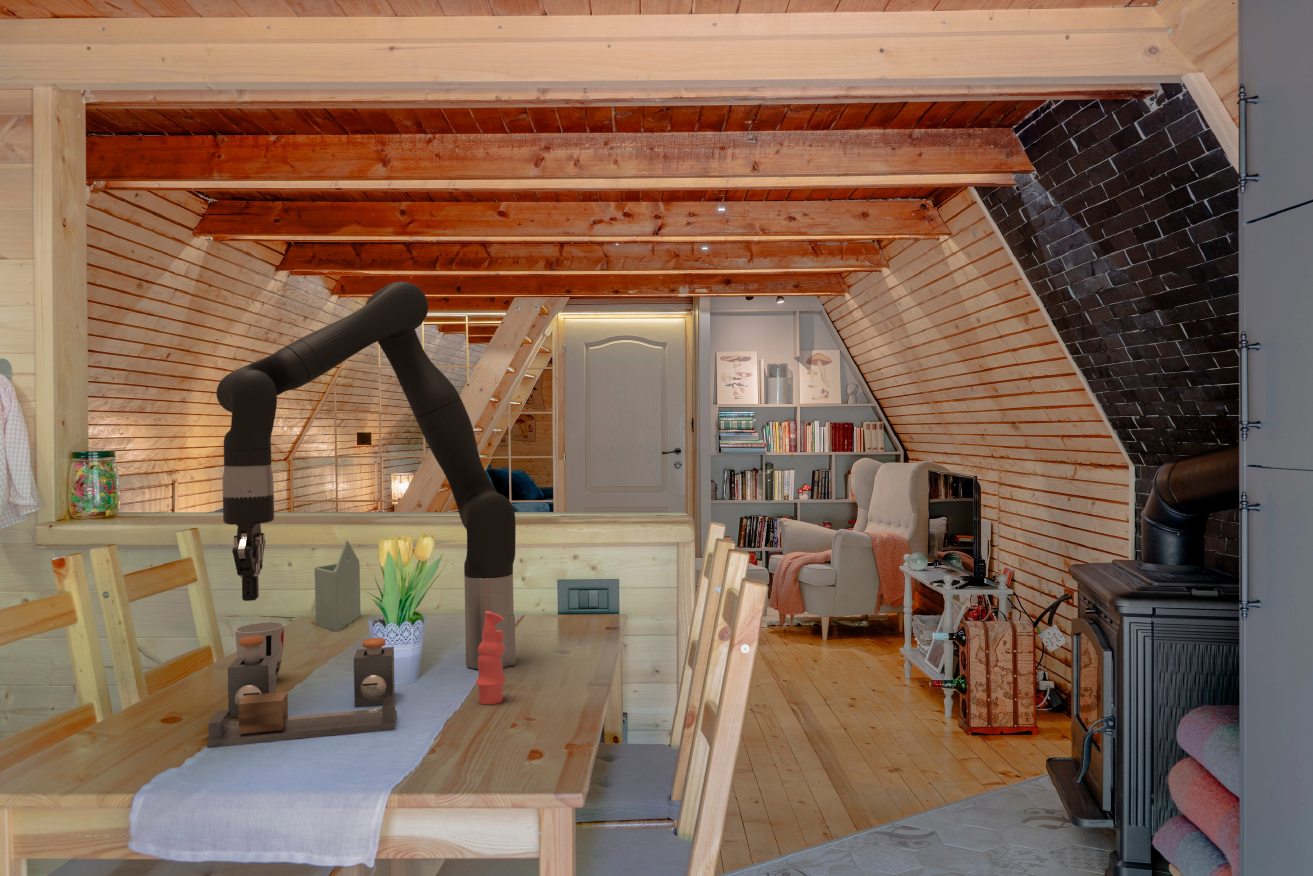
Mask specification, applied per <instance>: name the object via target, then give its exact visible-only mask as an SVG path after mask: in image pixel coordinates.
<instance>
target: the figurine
mask: <svg viewBox="0 0 1313 876" xmlns="http://www.w3.org/2000/svg"><path fill="white" fill-rule="evenodd" d="M485 615H486V616H485V620H484V628H483V631H482V639H483V640H482V642H481V644H480V645H479V647H478V653H479V654H480V656H479V658H478V669H477V670H478V677H477V679H476V681H475V684H476V685H477V686H478V702H479V703H480V704H483V705H497V704H499V703H502V701H504V697H503V695H504V694H503V693H504V692H503V691H504V689H503V686H504V685H503V684H504V683H505V682H506V677H505V675H504V667H503V666H502V661H501V659H500V656H502V654H503V653H504V651H505V646H504V644H503V643H502V642H501V641H503V639H504V638H503V632H502V630H496V628H495V625H496V624H497V623H499V622H500V621H501V620H504V619H503V618H502V617H501V616H500V615H498V614H495V613H492V612H491V611H486V612H485Z"/></svg>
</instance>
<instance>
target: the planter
mask: <svg viewBox="0 0 1313 876" xmlns="http://www.w3.org/2000/svg"><path fill="white" fill-rule="evenodd" d="M360 575H361V574H360V560H359V558H358V556H357V554H356V553H355V551H354V549H353V548H352V545H351V544H350V541H349V540H347V539H346V540H345V542H344V544H343V547H342V550H341V553H340V556H339V559H338V560H337V563H335V564H327V565H321V566H315V567H314V595H315V596H314V599H315V600H314V601H315V602H314V605H315V607H314V608H315V625H316V626H318V627H320V628H322V627H323V628H322V629H326V630H329V631H331V632H334V633H338V632H339V631H341V630H342V628H343V629H344V628H346V627H347V626H348V625H347V624H349V623H350V622H351V621H353V620H354V621H356V620H357V619H359V618H360V617H361V576H360ZM354 621H353V622H354ZM351 623H352V622H351ZM351 623H350V624H351ZM350 624H349V625H350ZM346 625H347V626H346ZM345 626H346V627H345Z"/></svg>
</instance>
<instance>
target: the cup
mask: <svg viewBox="0 0 1313 876" xmlns="http://www.w3.org/2000/svg"><path fill="white" fill-rule="evenodd" d="M234 635H235V646H236V654H237V658H244V646H241V645H239V639H240V638H243V637H247V636H263V637H264V642H263V643H262V644H260V656H274V655H275V666H276V681H277V678H278V676H279V672H280V669H281V665H282V658H283V652H284V640H285V639H284V638H285V637H284V635H285V624H284V623H282V622H276V621H273V622H272V621H268V622H265V621H264V622H257V623H250V624H245V625H241V626H239V627H236V628H234Z"/></svg>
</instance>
